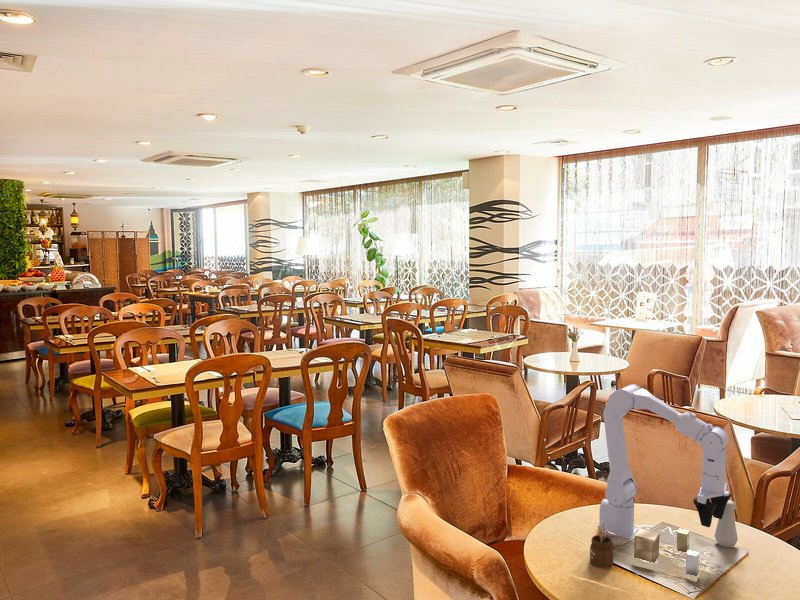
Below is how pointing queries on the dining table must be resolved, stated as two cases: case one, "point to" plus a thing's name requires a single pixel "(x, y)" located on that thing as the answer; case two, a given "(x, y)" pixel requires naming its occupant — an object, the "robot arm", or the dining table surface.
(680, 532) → the brass post
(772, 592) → the dining table surface
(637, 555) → the wood block
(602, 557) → the utensil holder
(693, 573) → the steel post
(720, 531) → the salt shaker
